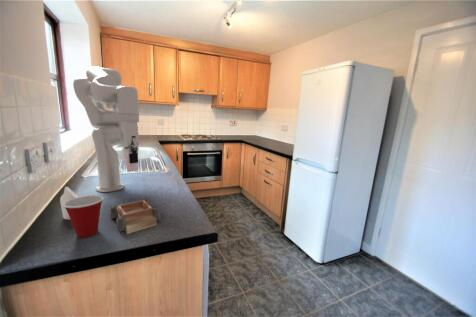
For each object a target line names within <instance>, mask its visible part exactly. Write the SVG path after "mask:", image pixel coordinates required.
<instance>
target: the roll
mask: <svg viewBox="0 0 476 317" xmlns="http://www.w3.org/2000/svg"><path fill="white" fill-rule="evenodd" d="M78 197H79V196H78V195H77V194H76V192H74V191H73V190H72V189H71V188H70V187H69V186H65V187H64V191H63V193H62V195H61V197H60V198H59V201H60V202H59V203H60V207H61V213H62V218H63V219H64V220H70V217H69V214H68V212H67V210H66V208H65V207H64V206H63V203H64V202H66V201H68V200H71V199H74V198H78Z"/></svg>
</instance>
